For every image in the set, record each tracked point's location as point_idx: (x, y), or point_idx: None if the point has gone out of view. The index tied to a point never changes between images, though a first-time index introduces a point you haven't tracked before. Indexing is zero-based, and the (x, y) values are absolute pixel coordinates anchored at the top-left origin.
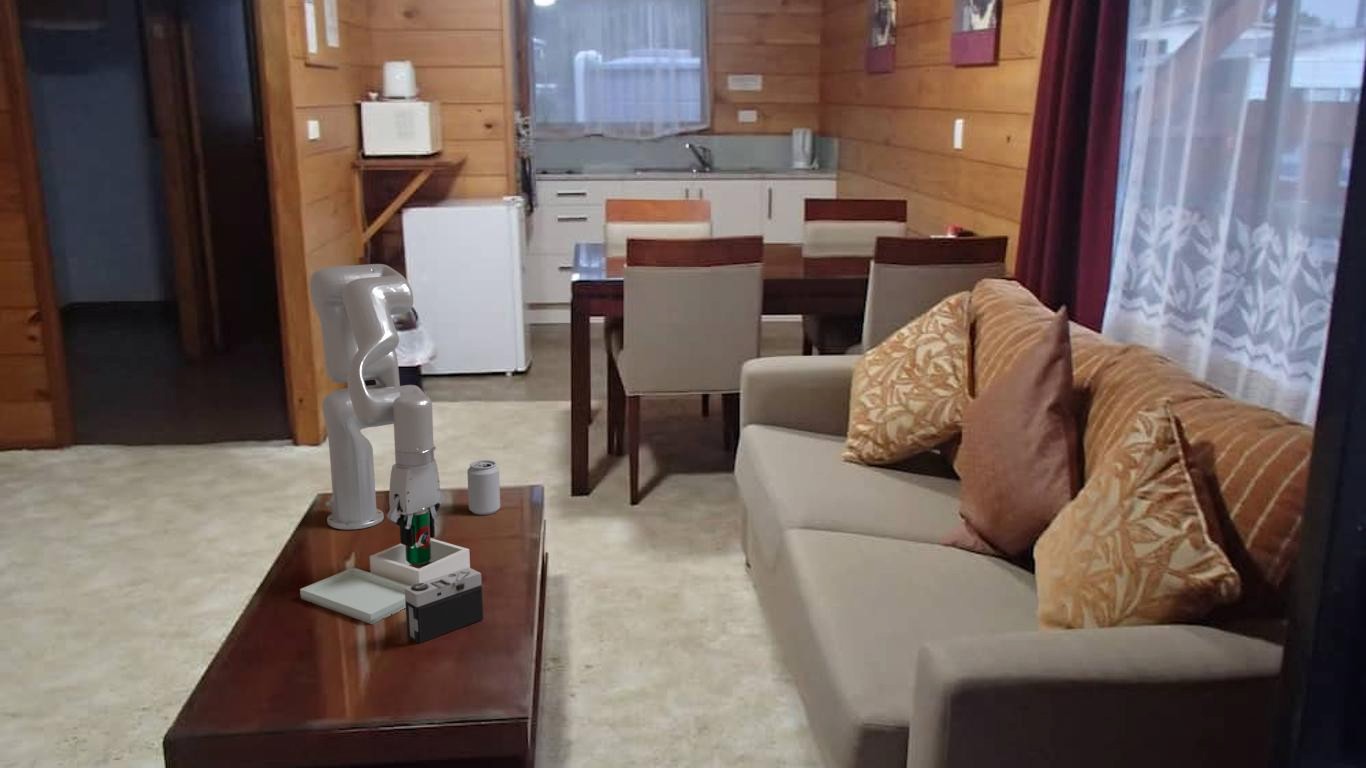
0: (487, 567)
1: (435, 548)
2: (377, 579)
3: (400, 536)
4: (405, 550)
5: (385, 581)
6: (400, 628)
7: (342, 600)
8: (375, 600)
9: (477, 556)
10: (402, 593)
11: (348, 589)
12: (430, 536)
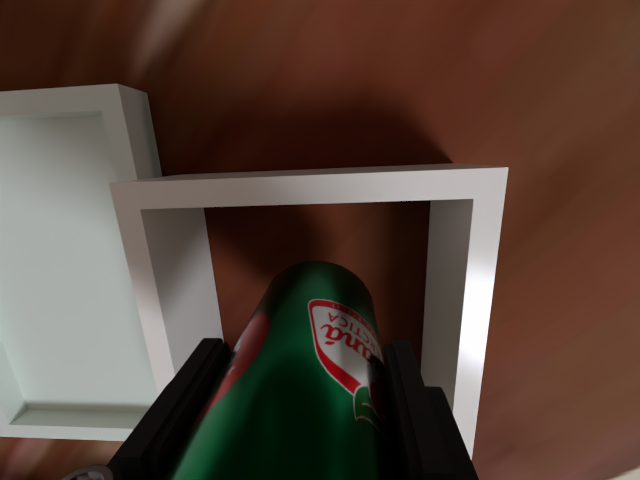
0: (496, 415)
1: (448, 293)
2: None
3: (154, 401)
4: (263, 298)
5: None
6: (76, 470)
7: (2, 266)
8: (82, 346)
9: (569, 332)
10: None
11: (50, 213)
12: None
